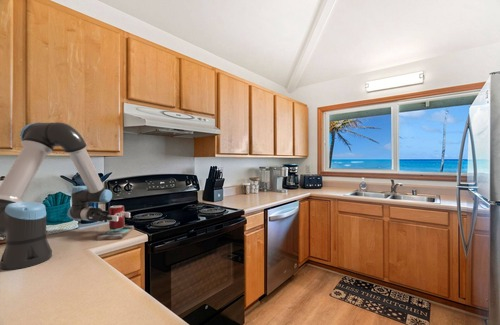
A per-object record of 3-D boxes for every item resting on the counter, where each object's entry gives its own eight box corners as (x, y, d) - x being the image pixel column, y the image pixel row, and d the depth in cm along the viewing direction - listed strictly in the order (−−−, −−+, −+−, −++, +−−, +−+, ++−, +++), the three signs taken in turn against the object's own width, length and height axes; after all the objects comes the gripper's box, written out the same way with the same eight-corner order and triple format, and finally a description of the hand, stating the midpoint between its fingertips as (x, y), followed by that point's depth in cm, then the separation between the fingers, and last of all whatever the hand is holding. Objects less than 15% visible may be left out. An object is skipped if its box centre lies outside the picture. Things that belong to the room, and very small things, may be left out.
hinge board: (96, 240, 117) (96, 235, 117) (112, 229, 134) (112, 225, 134) (121, 239, 118) (121, 234, 118) (134, 228, 136) (134, 224, 136)
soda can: (127, 226, 130) (127, 205, 129) (118, 230, 122) (118, 208, 122) (115, 226, 130) (114, 205, 130) (106, 230, 123) (105, 207, 123)
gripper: (108, 216, 141) (138, 219, 135) (74, 225, 122) (107, 229, 115) (107, 204, 141) (137, 206, 134) (74, 211, 122) (107, 214, 115)
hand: (123, 216), depth 125 cm, fingers closed on soda can, 7 cm apart
